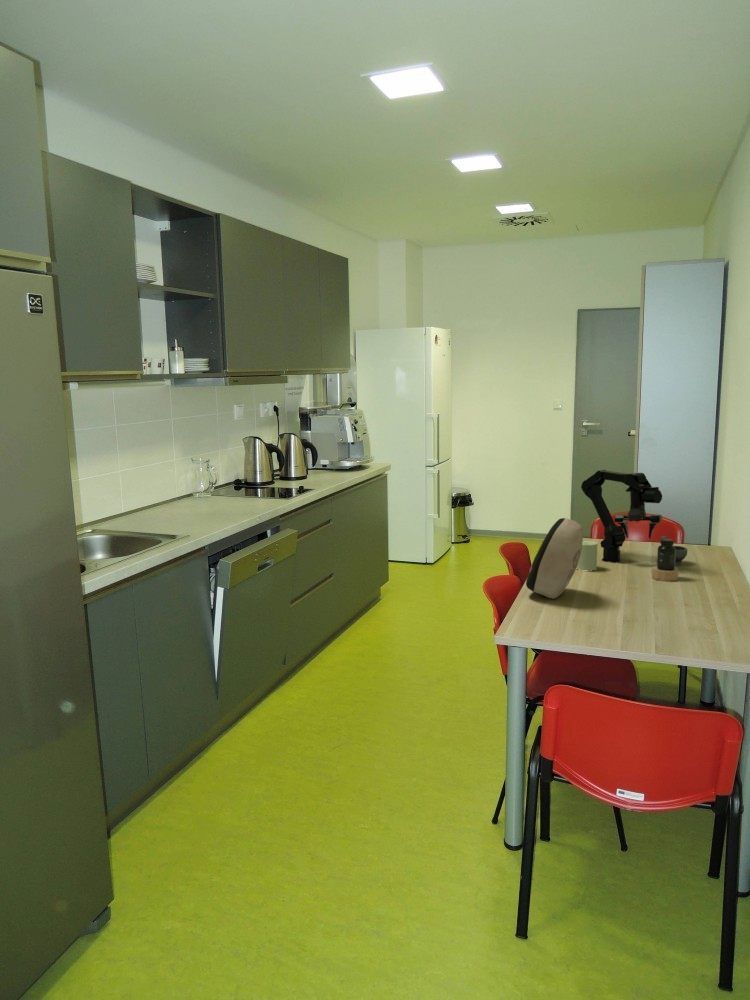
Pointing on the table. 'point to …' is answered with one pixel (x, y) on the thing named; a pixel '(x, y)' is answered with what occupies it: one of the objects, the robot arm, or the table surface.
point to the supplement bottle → (666, 555)
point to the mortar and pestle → (678, 553)
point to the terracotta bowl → (664, 574)
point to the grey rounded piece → (556, 559)
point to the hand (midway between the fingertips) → (638, 538)
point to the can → (588, 556)
